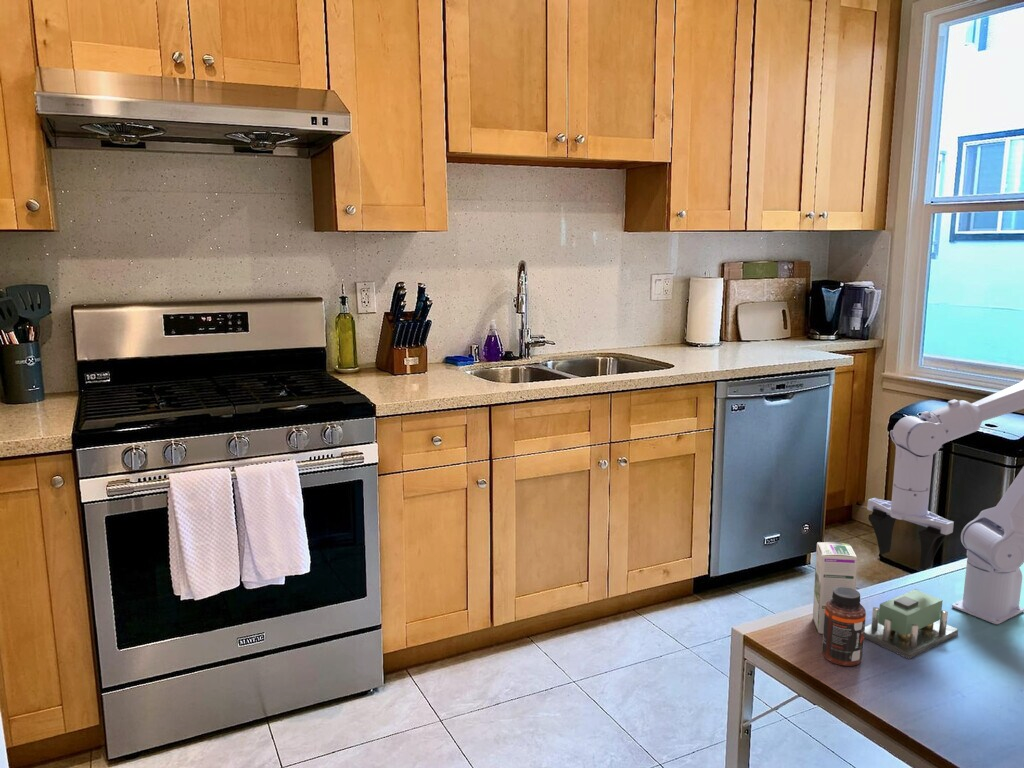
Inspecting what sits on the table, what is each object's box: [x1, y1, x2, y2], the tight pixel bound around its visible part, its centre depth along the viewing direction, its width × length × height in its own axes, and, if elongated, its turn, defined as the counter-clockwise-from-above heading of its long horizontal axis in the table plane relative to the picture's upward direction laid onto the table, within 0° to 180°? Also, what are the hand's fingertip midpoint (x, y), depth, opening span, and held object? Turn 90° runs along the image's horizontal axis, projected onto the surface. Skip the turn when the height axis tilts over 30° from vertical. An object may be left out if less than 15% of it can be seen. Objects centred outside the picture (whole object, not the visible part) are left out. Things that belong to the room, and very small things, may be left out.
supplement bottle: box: [822, 587, 867, 667], centre depth 123 cm, size 6×6×11 cm
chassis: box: [864, 606, 959, 660], centre depth 130 cm, size 14×9×4 cm, turn 122°
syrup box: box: [812, 541, 858, 635], centre depth 132 cm, size 6×6×14 cm
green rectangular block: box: [878, 588, 943, 636], centre depth 129 cm, size 10×5×4 cm, turn 121°
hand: (904, 559), depth 136 cm, fingers open, 7 cm apart
